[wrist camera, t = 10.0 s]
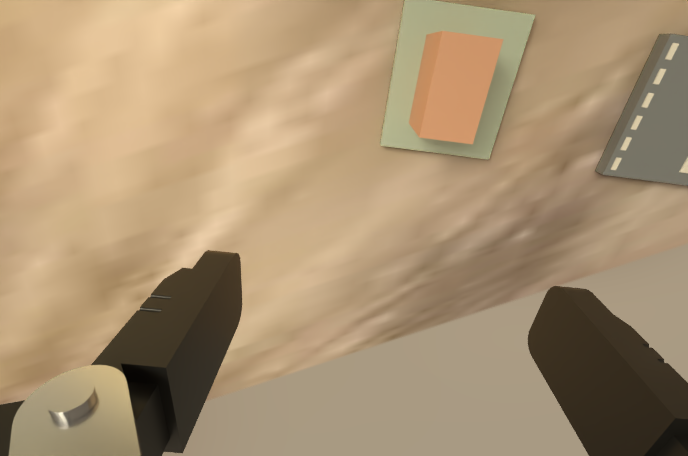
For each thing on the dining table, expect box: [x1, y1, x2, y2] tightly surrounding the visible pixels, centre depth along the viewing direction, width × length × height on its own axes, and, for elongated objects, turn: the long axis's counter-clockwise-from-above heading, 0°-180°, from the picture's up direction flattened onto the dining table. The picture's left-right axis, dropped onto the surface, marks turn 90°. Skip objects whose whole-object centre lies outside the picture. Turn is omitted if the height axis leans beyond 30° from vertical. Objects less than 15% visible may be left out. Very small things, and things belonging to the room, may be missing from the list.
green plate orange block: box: [380, 0, 535, 160], centre depth 23 cm, size 10×9×6 cm
